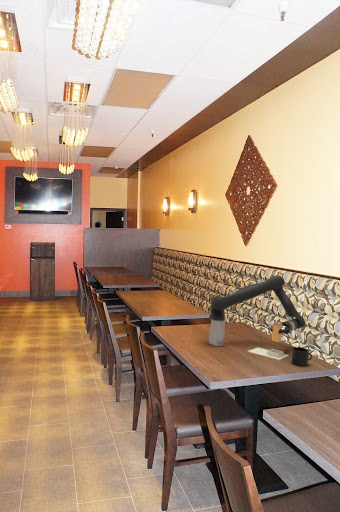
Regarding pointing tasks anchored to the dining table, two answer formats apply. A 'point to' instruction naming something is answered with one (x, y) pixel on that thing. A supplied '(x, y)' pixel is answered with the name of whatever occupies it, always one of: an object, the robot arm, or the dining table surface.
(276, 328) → the orange cylinder
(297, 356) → the mug
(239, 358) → the dining table surface
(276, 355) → the pale green base plate
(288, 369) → the dining table surface
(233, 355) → the dining table surface
